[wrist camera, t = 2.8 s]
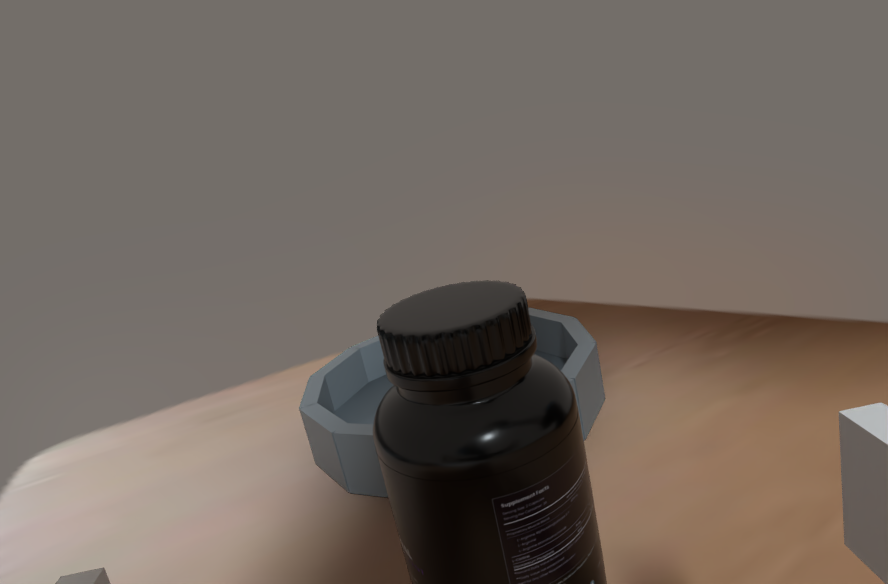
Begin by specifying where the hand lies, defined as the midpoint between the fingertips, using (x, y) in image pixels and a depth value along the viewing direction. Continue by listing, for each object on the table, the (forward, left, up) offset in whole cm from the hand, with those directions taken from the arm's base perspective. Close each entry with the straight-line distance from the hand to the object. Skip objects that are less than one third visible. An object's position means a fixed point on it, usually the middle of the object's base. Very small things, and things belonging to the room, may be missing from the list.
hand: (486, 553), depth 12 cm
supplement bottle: (+5, -9, -11) cm, 15 cm away
